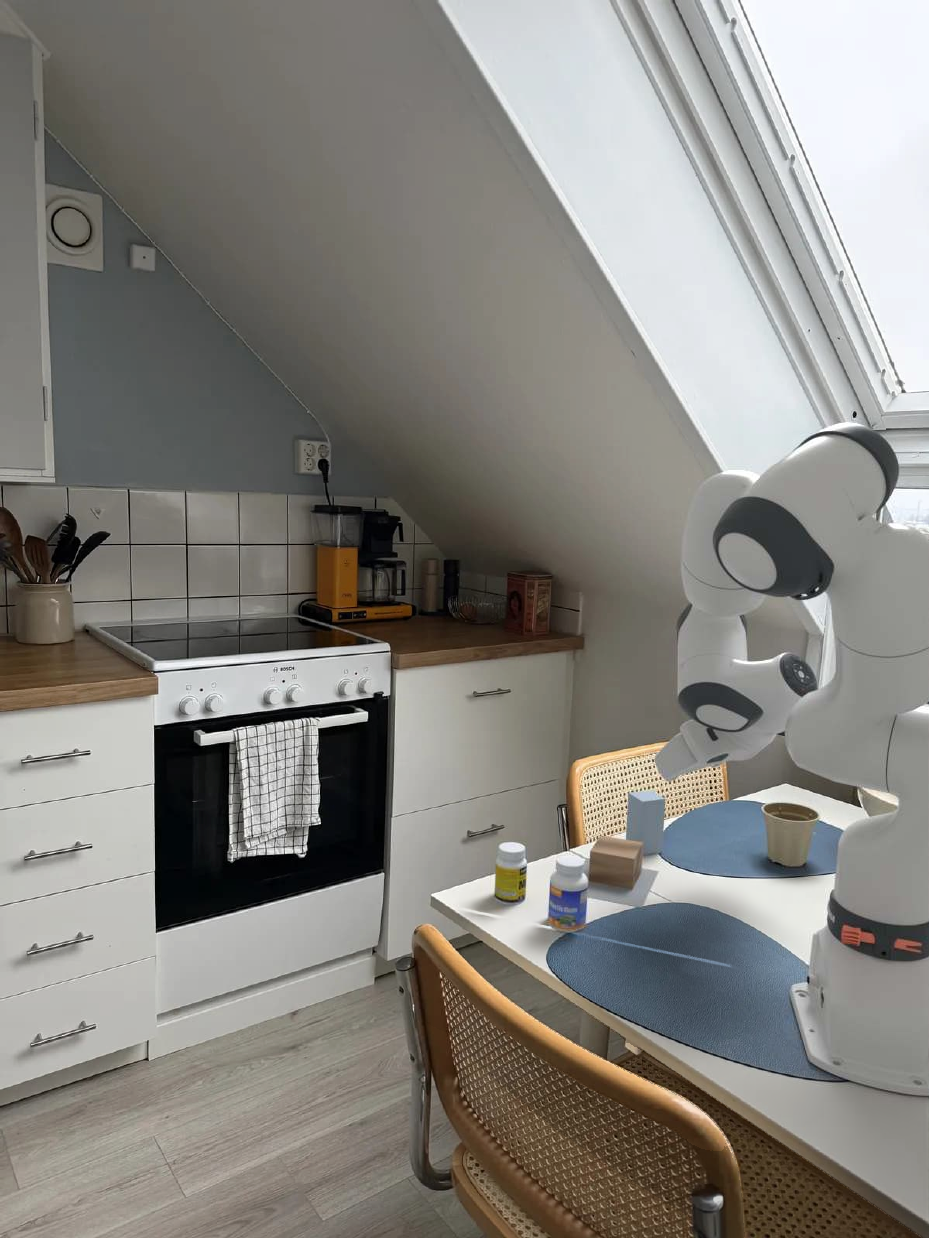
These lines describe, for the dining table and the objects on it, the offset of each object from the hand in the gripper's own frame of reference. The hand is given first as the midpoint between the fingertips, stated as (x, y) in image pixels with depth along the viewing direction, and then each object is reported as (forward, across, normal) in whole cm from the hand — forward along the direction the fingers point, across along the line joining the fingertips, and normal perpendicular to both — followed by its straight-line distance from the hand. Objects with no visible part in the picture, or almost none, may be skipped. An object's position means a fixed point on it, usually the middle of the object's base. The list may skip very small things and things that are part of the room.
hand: (690, 769), depth 147 cm
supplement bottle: (+14, +32, +7) cm, 35 cm away
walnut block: (+14, +12, +9) cm, 21 cm away
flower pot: (+12, -18, +17) cm, 27 cm away
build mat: (+13, +14, +10) cm, 22 cm away
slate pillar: (+20, +1, +6) cm, 21 cm away
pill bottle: (+7, +28, +15) cm, 33 cm away
